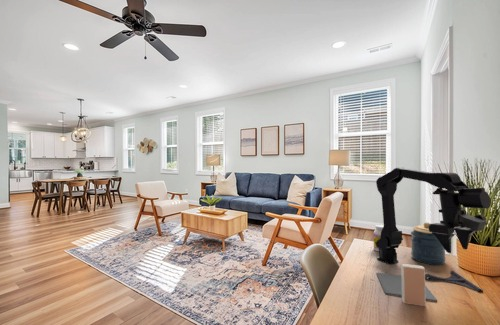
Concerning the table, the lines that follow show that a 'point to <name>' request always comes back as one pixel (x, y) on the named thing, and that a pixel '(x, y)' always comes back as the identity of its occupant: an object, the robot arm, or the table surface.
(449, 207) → the robot arm
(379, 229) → the supplement bottle
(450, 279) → the bracket
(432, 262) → the canister
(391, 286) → the mat
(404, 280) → the tile
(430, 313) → the table surface
